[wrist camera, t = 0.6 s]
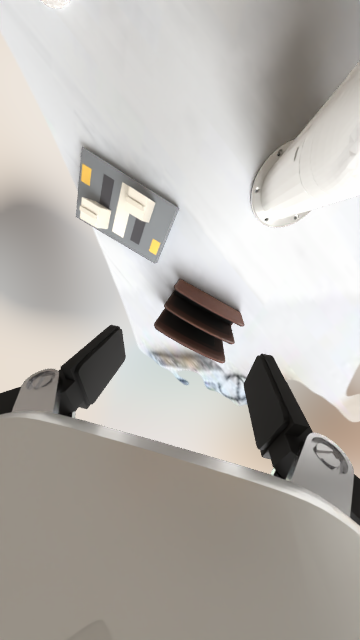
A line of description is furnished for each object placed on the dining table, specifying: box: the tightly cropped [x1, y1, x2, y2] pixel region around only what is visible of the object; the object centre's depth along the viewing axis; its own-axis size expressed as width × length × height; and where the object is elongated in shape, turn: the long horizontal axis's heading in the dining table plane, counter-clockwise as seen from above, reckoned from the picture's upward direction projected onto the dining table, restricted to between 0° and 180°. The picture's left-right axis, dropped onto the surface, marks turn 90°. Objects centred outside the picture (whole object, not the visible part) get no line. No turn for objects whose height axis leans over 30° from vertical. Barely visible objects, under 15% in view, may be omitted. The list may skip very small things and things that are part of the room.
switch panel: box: [76, 147, 179, 263], centre depth 34 cm, size 13×22×2 cm, turn 62°
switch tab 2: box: [124, 187, 155, 223], centre depth 30 cm, size 4×4×5 cm
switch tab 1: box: [79, 197, 111, 229], centre depth 32 cm, size 4×4×5 cm
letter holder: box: [154, 279, 244, 363], centre depth 37 cm, size 10×20×14 cm, turn 63°
